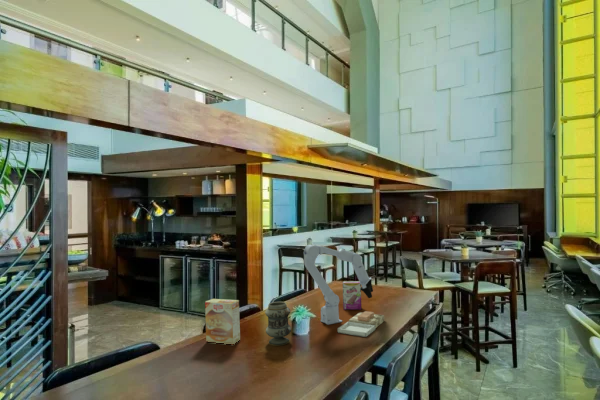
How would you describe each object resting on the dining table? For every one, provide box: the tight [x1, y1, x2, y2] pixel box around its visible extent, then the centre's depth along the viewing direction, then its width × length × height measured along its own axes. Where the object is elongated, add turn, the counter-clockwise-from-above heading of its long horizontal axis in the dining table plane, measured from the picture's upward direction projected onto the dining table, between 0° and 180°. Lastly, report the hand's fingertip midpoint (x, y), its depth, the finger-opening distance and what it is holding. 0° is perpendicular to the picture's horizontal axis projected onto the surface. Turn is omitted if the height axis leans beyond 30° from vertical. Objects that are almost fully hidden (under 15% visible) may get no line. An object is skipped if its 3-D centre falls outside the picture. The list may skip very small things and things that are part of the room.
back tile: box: [361, 310, 375, 318], centre depth 198 cm, size 5×5×2 cm
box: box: [337, 321, 376, 338], centre depth 184 cm, size 13×15×2 cm
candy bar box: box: [342, 280, 362, 311], centre depth 226 cm, size 11×5×16 cm, turn 84°
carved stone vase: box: [264, 301, 292, 347], centre depth 173 cm, size 12×12×18 cm
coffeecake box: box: [204, 298, 241, 345], centre depth 177 cm, size 15×7×20 cm, turn 70°
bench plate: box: [348, 311, 385, 329], centre depth 196 cm, size 15×14×3 cm
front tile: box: [358, 314, 370, 321], centre depth 193 cm, size 5×5×2 cm
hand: (370, 294), depth 207 cm, fingers open, 7 cm apart
